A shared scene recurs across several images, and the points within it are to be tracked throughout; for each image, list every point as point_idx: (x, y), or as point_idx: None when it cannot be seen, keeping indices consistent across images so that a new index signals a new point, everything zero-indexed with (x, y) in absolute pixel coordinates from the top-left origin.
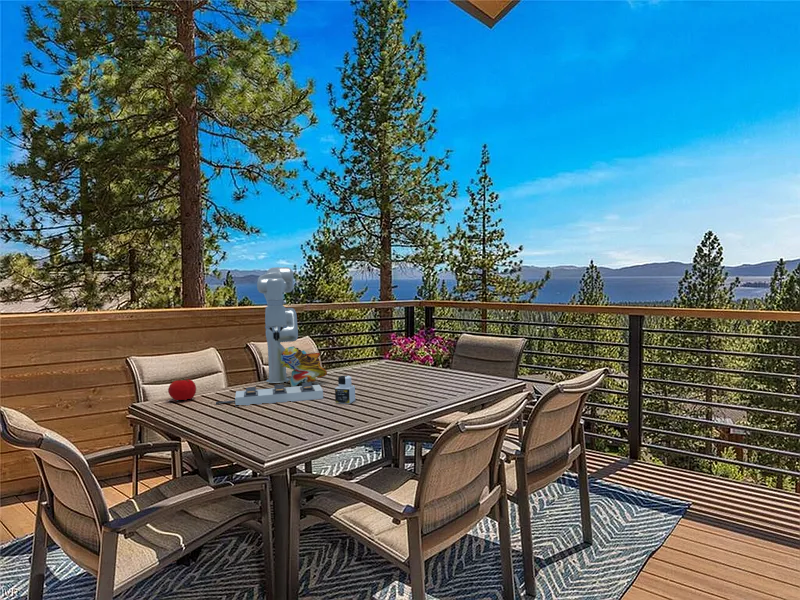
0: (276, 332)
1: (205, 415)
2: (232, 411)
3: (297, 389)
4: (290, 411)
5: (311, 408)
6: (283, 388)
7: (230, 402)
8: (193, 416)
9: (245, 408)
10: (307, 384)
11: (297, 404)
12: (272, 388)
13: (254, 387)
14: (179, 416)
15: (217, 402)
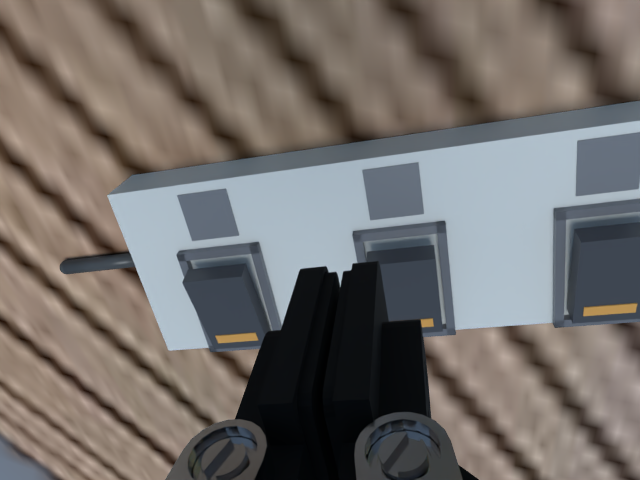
0: (330, 436)
1: (113, 421)
2: (204, 396)
3: (531, 240)
4: (468, 457)
5: (572, 440)
6: (435, 311)
7: (134, 266)
8: (71, 422)
9: (248, 365)
10: (621, 268)
11: (507, 360)
12: (343, 164)
13: (236, 286)
14: (15, 409)
15: (70, 273)
